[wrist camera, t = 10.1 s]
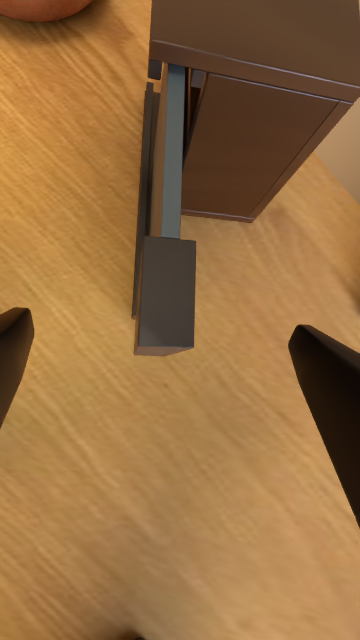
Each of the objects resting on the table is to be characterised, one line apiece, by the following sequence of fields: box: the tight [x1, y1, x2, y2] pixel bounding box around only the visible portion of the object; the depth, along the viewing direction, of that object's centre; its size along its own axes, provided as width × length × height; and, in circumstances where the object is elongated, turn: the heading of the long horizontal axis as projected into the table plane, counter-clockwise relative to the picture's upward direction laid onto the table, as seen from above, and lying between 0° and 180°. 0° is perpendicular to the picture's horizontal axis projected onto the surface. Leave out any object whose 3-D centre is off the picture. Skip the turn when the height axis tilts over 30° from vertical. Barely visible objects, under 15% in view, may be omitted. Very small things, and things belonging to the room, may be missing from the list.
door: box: [134, 62, 196, 356], centre depth 17 cm, size 16×2×10 cm, turn 178°
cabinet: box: [132, 0, 360, 319], centre depth 19 cm, size 20×10×13 cm, turn 178°
